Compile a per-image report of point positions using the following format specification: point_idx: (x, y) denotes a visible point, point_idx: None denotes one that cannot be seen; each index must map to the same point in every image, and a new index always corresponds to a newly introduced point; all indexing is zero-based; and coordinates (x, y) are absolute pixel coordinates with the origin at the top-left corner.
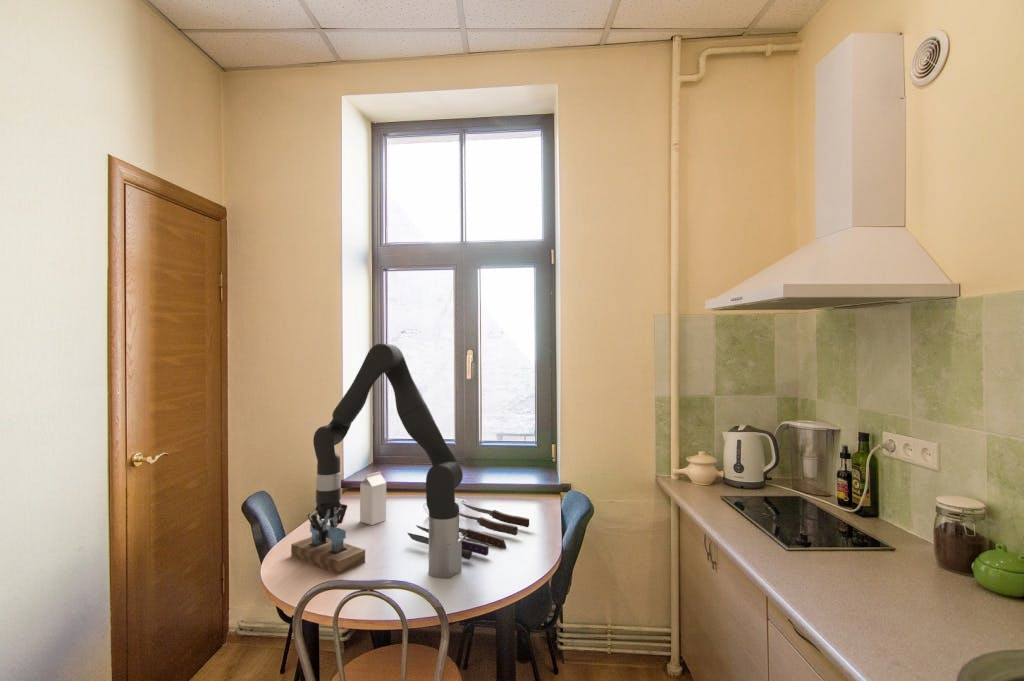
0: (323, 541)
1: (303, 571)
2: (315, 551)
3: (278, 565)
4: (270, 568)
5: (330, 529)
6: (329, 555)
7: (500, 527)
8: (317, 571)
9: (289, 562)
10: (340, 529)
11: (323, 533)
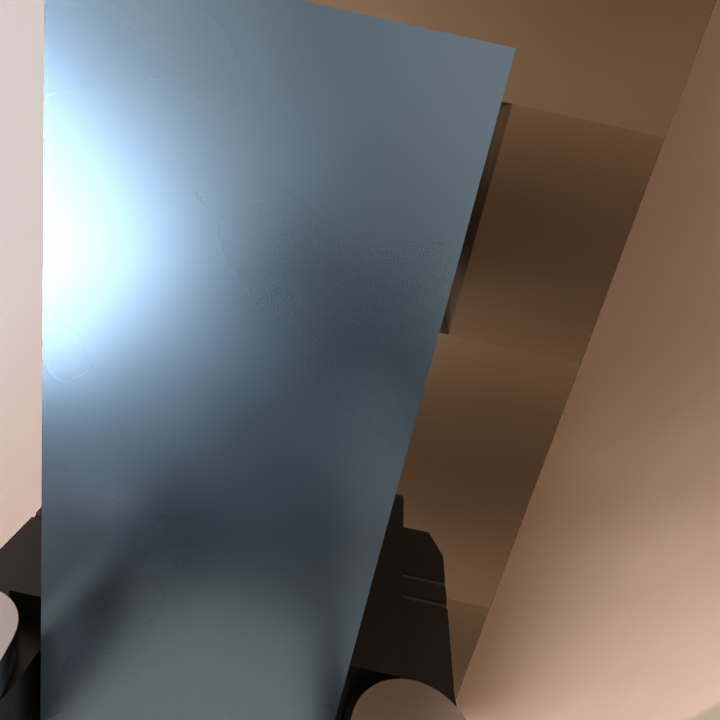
0: (399, 516)
1: (675, 409)
2: (495, 498)
3: (602, 698)
4: (677, 717)
5: (275, 592)
6: (576, 180)
7: None
8: (639, 257)
9: (516, 657)
10: (101, 266)
11: (394, 648)
